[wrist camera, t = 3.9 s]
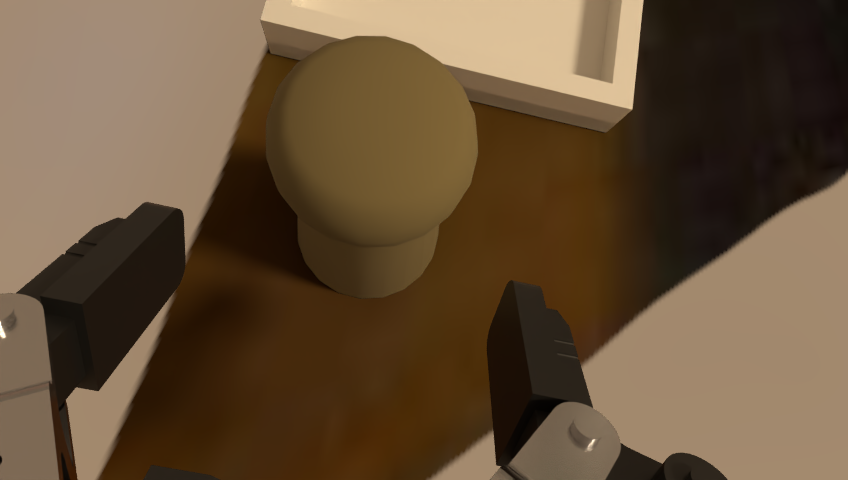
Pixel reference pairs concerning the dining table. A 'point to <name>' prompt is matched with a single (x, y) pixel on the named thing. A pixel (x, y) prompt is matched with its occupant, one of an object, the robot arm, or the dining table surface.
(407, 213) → the cork
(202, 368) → the dining table surface
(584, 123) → the tray
